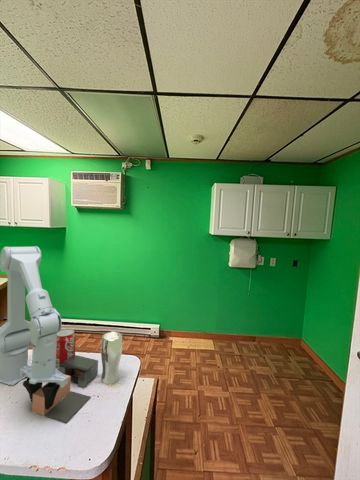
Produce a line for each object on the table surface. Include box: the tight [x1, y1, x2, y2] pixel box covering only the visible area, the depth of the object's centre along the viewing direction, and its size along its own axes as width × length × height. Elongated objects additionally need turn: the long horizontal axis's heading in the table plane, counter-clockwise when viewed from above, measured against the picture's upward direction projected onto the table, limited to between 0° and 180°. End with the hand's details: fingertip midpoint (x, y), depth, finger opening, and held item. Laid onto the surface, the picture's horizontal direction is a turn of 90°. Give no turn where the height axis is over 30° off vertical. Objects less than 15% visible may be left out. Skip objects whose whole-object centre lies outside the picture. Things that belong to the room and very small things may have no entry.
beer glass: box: [100, 331, 123, 385], centre depth 81 cm, size 7×7×15 cm
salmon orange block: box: [31, 374, 72, 416], centre depth 69 cm, size 4×10×5 cm, turn 165°
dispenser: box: [59, 354, 99, 389], centre depth 80 cm, size 10×7×6 cm
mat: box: [44, 390, 92, 424], centre depth 68 cm, size 7×10×1 cm
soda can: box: [56, 328, 77, 371], centre depth 86 cm, size 7×7×13 cm
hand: (42, 404), depth 66 cm, fingers closed on salmon orange block, 4 cm apart
